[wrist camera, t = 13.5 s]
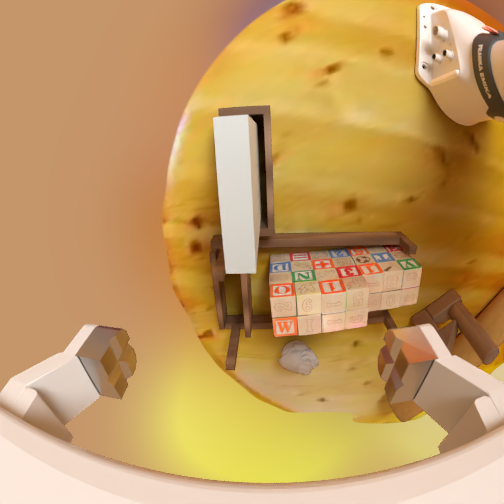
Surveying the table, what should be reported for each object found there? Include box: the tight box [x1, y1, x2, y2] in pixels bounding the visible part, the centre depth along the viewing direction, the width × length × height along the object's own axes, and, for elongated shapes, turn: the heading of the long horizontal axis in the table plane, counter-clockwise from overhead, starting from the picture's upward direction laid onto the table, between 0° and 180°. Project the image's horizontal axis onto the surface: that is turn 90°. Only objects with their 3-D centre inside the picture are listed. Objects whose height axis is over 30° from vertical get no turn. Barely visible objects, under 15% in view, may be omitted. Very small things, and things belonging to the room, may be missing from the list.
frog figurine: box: [278, 340, 319, 375], centre depth 47 cm, size 6×7×7 cm
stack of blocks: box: [269, 245, 422, 337], centre depth 38 cm, size 21×6×12 cm, turn 97°
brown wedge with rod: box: [411, 289, 499, 365], centre depth 38 cm, size 4×11×18 cm, turn 127°
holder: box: [218, 105, 275, 236], centre depth 36 cm, size 16×6×6 cm, turn 3°
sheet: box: [213, 115, 262, 274], centre depth 29 cm, size 12×2×20 cm, turn 3°
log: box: [388, 289, 504, 422], centre depth 46 cm, size 38×10×10 cm, turn 141°
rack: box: [210, 232, 417, 370], centre depth 39 cm, size 16×30×12 cm, turn 93°
